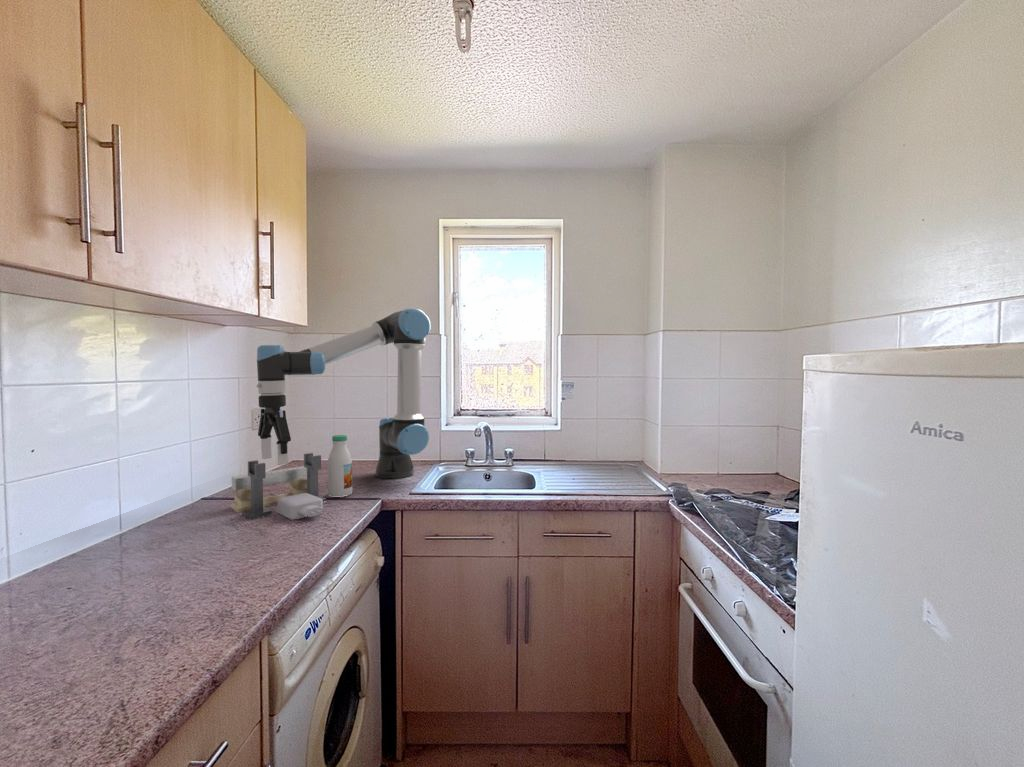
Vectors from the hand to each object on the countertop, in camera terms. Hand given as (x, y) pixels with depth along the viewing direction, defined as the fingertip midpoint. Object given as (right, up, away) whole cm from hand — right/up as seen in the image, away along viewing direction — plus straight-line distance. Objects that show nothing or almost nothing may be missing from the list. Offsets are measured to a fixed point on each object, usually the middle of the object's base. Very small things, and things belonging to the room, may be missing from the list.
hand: (274, 461), depth 140 cm
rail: (0, -7, 0) cm, 7 cm away
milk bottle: (+18, -13, +8) cm, 23 cm away
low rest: (0, -13, 0) cm, 13 cm away
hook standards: (+7, -13, -7) cm, 16 cm away
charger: (+16, -14, -13) cm, 24 cm away
